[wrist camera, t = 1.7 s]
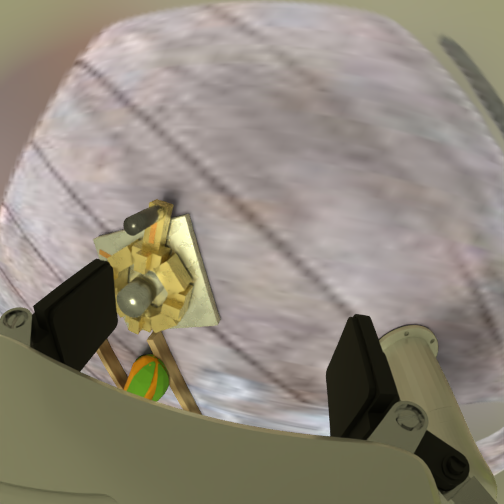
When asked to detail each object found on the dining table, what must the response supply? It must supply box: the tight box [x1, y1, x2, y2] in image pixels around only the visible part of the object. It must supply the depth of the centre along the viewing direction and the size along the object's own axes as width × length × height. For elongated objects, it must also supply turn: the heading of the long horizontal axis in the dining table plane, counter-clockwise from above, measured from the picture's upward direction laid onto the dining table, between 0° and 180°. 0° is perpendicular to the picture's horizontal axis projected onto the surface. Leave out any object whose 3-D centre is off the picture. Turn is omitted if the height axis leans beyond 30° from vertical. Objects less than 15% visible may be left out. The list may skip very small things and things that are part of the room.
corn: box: [124, 354, 169, 402], centre depth 45 cm, size 7×8×20 cm
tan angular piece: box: [107, 199, 193, 334], centre depth 34 cm, size 18×12×8 cm
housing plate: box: [93, 214, 221, 330], centre depth 37 cm, size 16×17×8 cm
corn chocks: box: [96, 331, 202, 415], centre depth 48 cm, size 22×14×3 cm, turn 13°
